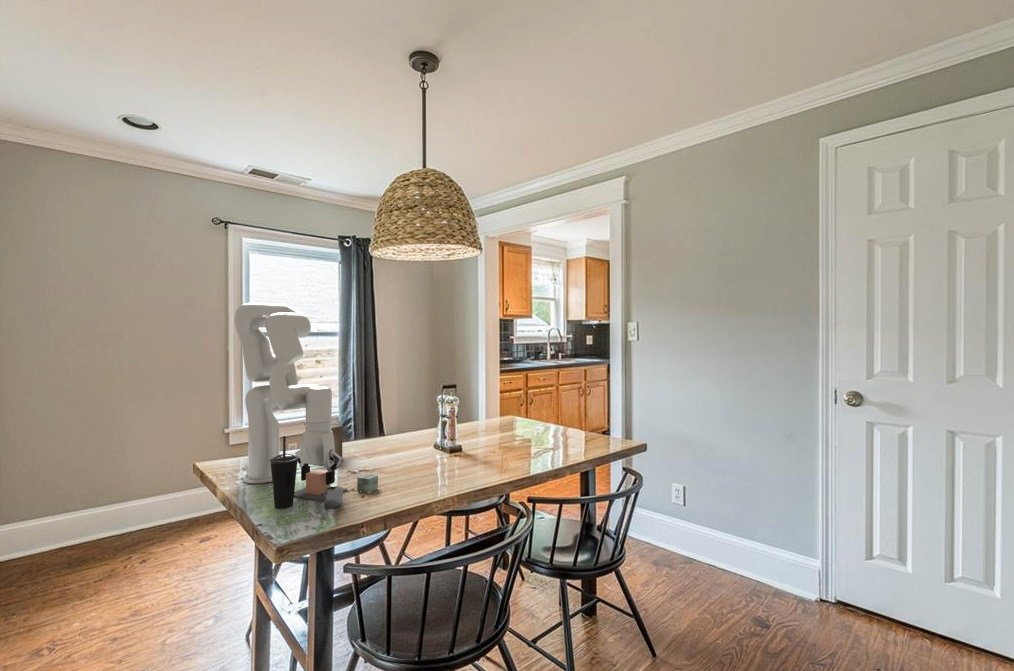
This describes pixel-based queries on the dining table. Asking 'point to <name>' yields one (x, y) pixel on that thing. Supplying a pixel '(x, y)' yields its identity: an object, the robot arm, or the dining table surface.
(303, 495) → the black mat
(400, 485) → the dining table surface
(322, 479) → the terracotta block
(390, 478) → the dining table surface
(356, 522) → the dining table surface
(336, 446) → the pillar candle
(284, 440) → the drinking cup
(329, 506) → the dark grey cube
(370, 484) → the green cube
